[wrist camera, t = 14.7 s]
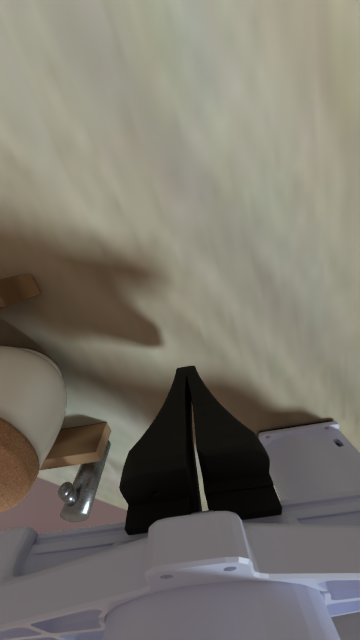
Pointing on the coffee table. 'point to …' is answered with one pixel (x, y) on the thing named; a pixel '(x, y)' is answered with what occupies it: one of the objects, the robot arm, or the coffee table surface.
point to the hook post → (82, 490)
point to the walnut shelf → (70, 442)
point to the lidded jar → (27, 418)
